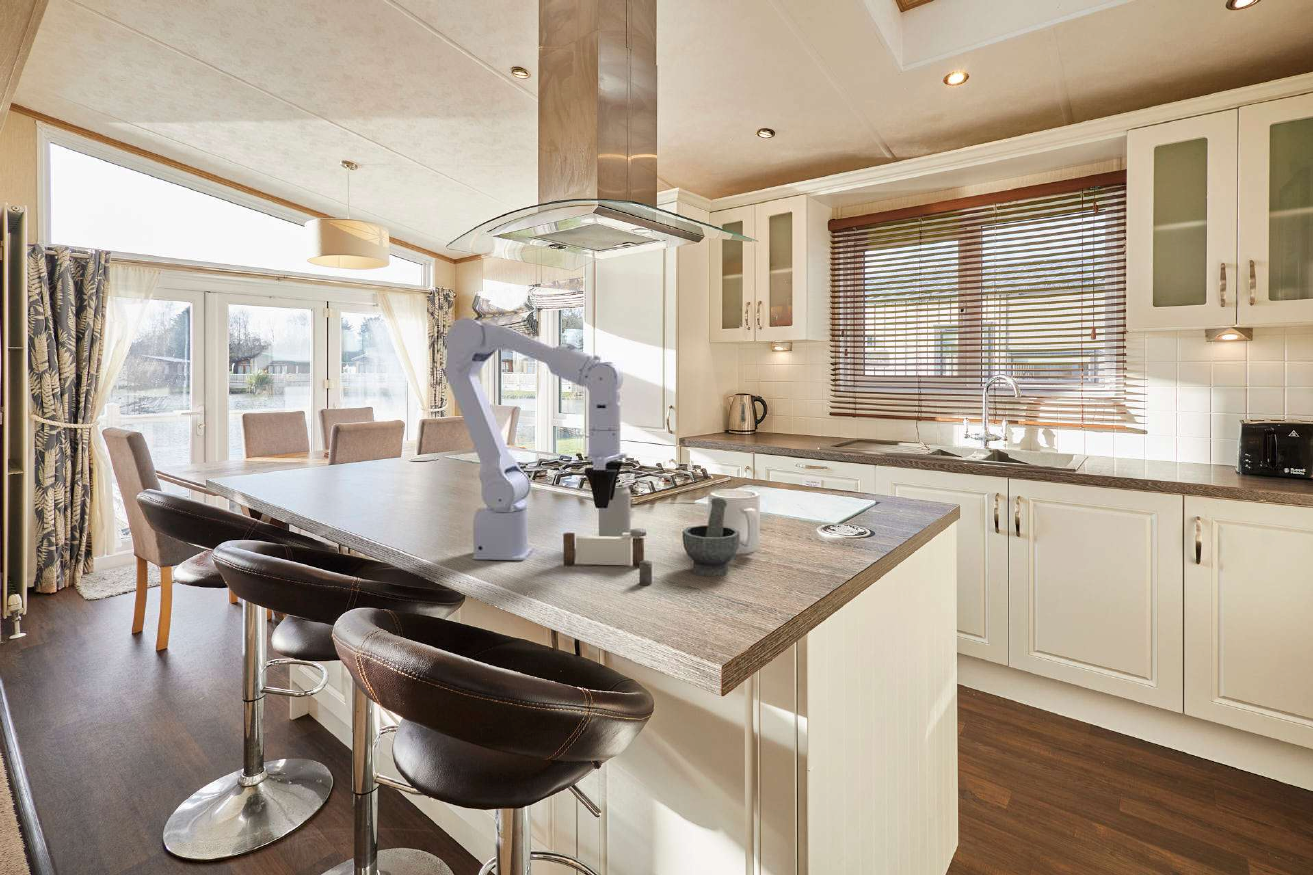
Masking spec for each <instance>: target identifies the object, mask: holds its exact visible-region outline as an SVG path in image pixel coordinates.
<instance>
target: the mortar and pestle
mask: <svg viewBox="0 0 1313 875" xmlns="http://www.w3.org/2000/svg"><path fill="white" fill-rule="evenodd" d="M711 503H712V509H711V513H710V518H709V522H708V521H707V524H701V525H694V526H688V527H687V528H685V529H684V530H682V544H683V548H684V550H685V552H686V554H687V556H688V557H689V558H690V559H691V560H692V561H693V564H692V570H693V572H694V573H695V574H699V575H701V576H712V577H713V576H714V577H715V576H718V577H719V576H721V575H726V574H727V573H728V572H729V563H728V562H730V560H732V559H733V557H734V556H735V555H736V554H735V553H736V551H737V549H738V545H739V540H740V532H739V531H737V530H735V529H734V528H730V527H725V526H723V524H724V512H725V507H726V506H727V502H726V500H724V499H721V498H714V499H712V501H711Z"/></svg>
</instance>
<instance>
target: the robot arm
mask: <svg viewBox="0 0 1313 875" xmlns="http://www.w3.org/2000/svg"><path fill="white" fill-rule="evenodd" d="M444 342H445V345H446V356H445V359H446V360H445V372H444V373H445V376H446V379H447V382H448V384H449V387H450V389H451V391H452V394H453V397H454V399H455V402H456V404H457V406H458V409H459V412H460V415H461V416H462V419H463V422H464V425H465V427H466V430H467V432H468V434H469V436H470V439H471V442H472V444H473V447H474V449H475V452H476V453H477V456H478V459H479V461H480V468H479V473H478V478H479V480H480V484H481V491H480V493H481V498H482V501H483V503H484V505H486V507H479V508H477V509H476V510H475V513H474V517H473V523H472V524H473V525H472V528H473V529H472V531H473V532H472V533H473V536H472V537H473V556H472V559H473V560H494V561H495V560H497V561H524V560H525V559H526V558H527V557H528V556H529V554H530V553H531V552H532V551H534V546H529V545H528V514H527V513H528V508H527V506H528V504H527V503H526V498H527V497H528V496H529V495H530V492H531V488H532V484H531V480H530V478H529V476H528V474H527V473H526V472H524V471H523V469H521V467H520V465H519V462H518V460H516V459H515V457H513V456H512V455H511V454H510V453H509V451H508V448H507V445H506V443H505V441H504V438H503V436H502V433H501V430H500V428H499V424H498V423H497V421H496V417H495V416H494V412H493V410H492V408H491V406H490V402H489V401H488V398H487V395H486V393H485V390H484V388H483V385H482V383H481V381H480V378H479V374H480V372H481V370H482V369H483V367H484V364H485V363H486V362H487V361H488V360H489V359H490V358H491V357H492V356H493V355H494V354H495V353H496V352H497V351H506V350H510V351H512V352H515V353H518V354H520V355H524V356H526V357H528V358H531V359H532V360H533V359H534V360H537V361H538V362H541V363H544V364H546V366H547V367H548V369H549V372H550V373H551V374H552V375H554V376H556V377H559V378H561V379H563V380H566V381H568V382H570V383H573V384H576V385H578V386H580V387H586V389H587V391H588V392H589V393H588V453H587V459H589V460H590V461H592V467H585V468H584V474H585V477H586V479H587V480H588V484H589V485H590V489H591V492H592V499H593V503H594V506H595V509H599V508H608V505H609V500H613V497H614V493H615V487H616V483H617V482H618V481H617V480H618V478H619V477H618V476H619V474H620V471H621V468H622V466H623V464H624V462H623V460H621V459H627V457H628V454H627V453H625V452H624V453H623V452H621V403H620V401H621V394H620V393H621V391H620V389H621V388H622V385H623V382H624V377H623V372H622V371H621V369H620V368H619V367H618V366H617V365H615V364H614V363H613V362H611V361H603V362H601V360H602V359H601V358H602V357H601V356H599V355H597V354H595V355H594V356H593V355H590V354H589V353H585V352H582V351H580V350H578V346H577V345H575V344H573V343H569V344H568V345H566V344H564V343H563V344H561V345H558V346H555V347H552V346H550V345H548V344H546V343H543V342H542V341H539V340H537V339H535V338H533V337H531V336H529V335H526V334H524V333H522V332H520V331H517V330H516V329H513V328H511V327H507V326H503V325H499V324H494V323H492V322H490V321H481V320H476V319H473V318H471V317H461V318H458V319H457V320H455V321H454V322H453V323H451V326H450V328H449V329H448V330H447V333H446V334H445V337H444ZM619 459H620V460H619Z"/></svg>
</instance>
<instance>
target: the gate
mask: <svg viewBox="0 0 1313 875" xmlns="http://www.w3.org/2000/svg"><path fill="white" fill-rule="evenodd" d="M646 536H647V529H645V528H631V530H630V533H623V534H622V537H610V536H599V535H598V536H597V535H577V536H575V537H576V538H575V564H576V565H603V566H604V565H607V566H608V565H613V566H614V565H615V566H616V565H617V566H631V564H632V563H631V561H632V559H631V558H632V554H631V553H632V539H633V538H639V537H642V538H644V537H646Z"/></svg>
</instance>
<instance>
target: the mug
mask: <svg viewBox="0 0 1313 875" xmlns="http://www.w3.org/2000/svg"><path fill="white" fill-rule="evenodd" d="M707 493H708V494H707V523H708V522H709V518H710V513H711V509H712V503H711V501H712V499H714V498H721V499H724V500H726V502H727V506H726V507H725V512H724V524H723V526H725V527H730V528H734V529H735V530H737V531H739V532H740V540H739V545H738V549H737V551H736V553H735V555H740V554H750V553H754V552H757V551H758V550H760V528H761V526H760V524H761V519H760V518H761V493H759V492H757V491H753V490H748V489H737V488H735V489H734V488H725V489H715V490H711V491H708V492H707Z"/></svg>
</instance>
